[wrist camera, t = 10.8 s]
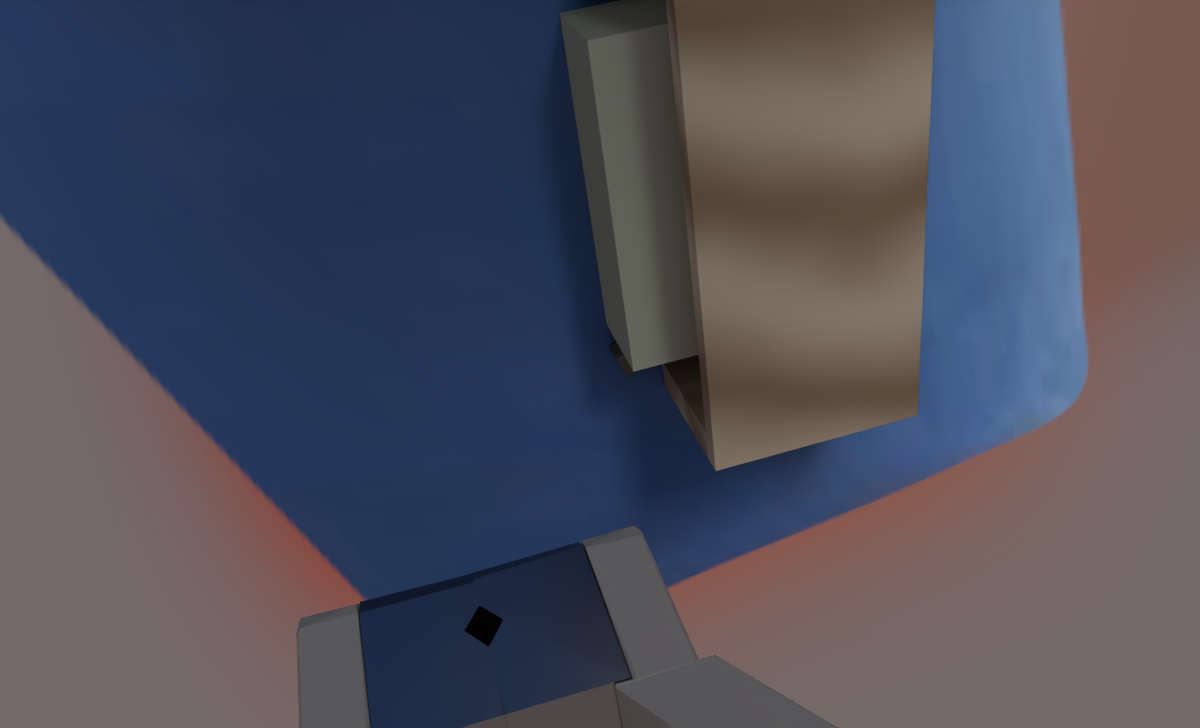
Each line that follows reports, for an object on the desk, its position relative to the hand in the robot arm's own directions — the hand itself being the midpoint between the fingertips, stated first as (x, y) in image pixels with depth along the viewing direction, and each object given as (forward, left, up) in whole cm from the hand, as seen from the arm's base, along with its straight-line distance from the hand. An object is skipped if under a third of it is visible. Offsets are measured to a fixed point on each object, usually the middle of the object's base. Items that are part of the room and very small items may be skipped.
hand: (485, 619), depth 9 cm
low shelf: (+8, +12, -28) cm, 32 cm away
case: (+8, +11, -28) cm, 32 cm away
